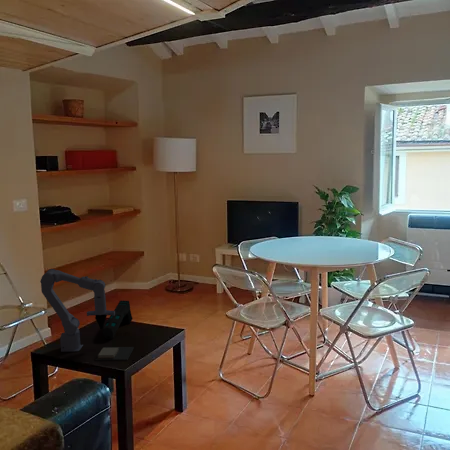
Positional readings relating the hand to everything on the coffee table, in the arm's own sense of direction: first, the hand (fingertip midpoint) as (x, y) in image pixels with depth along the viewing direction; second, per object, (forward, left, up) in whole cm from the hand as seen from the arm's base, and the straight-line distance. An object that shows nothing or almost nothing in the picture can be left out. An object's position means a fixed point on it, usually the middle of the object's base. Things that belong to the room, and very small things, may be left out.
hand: (101, 328), depth 253 cm
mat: (+9, -9, -10) cm, 16 cm away
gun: (+2, +24, -11) cm, 27 cm away
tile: (+6, -6, -9) cm, 12 cm away
